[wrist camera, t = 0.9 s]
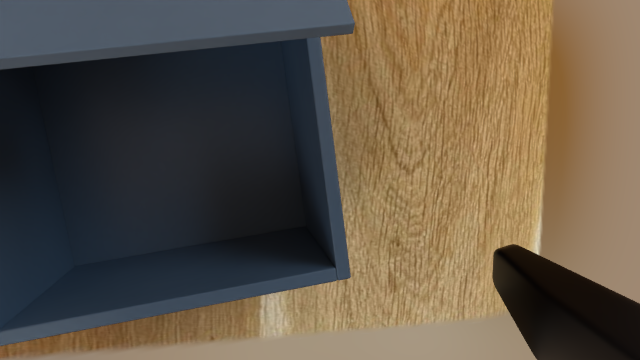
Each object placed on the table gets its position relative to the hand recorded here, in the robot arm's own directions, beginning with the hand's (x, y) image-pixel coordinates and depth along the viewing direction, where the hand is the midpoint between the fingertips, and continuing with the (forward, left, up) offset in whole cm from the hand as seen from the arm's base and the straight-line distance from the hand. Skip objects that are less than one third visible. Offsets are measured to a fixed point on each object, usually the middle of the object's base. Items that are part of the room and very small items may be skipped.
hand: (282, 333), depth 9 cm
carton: (+5, +3, -14) cm, 15 cm away
